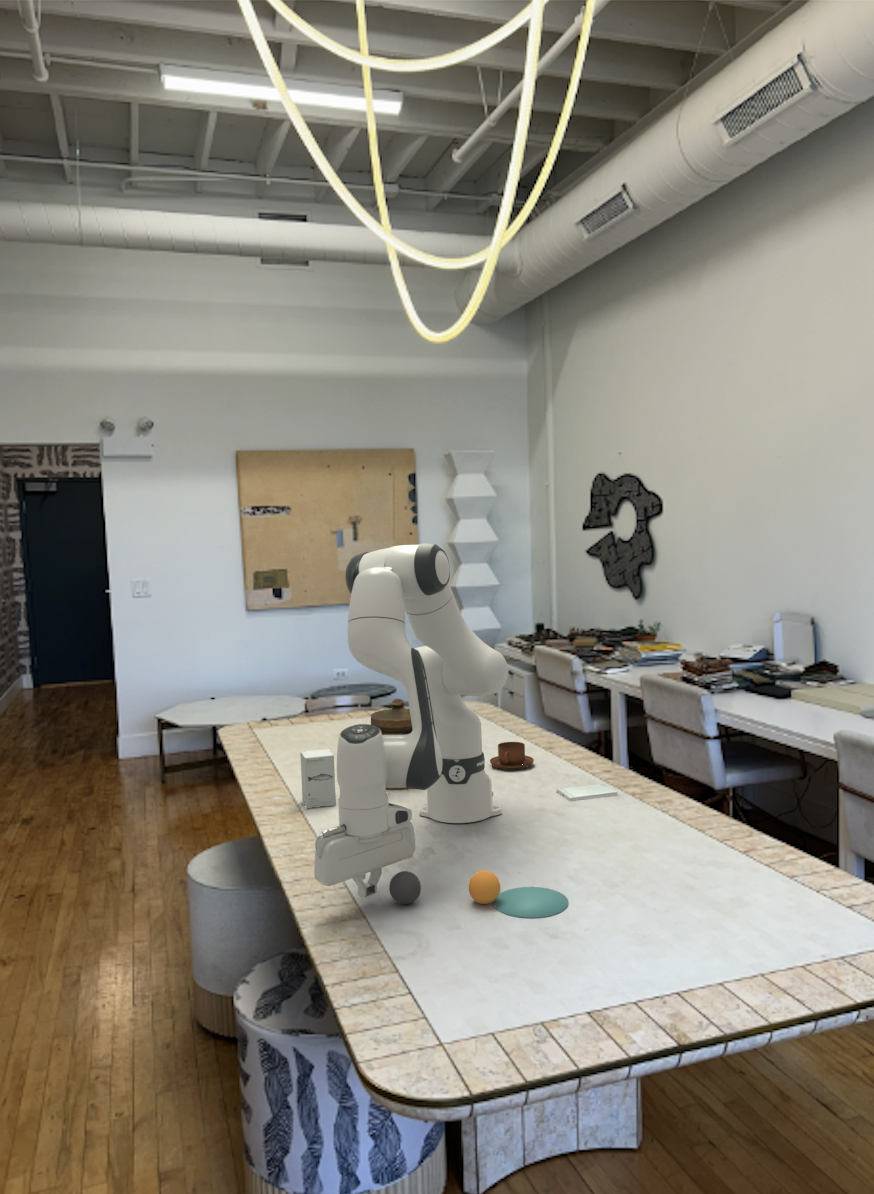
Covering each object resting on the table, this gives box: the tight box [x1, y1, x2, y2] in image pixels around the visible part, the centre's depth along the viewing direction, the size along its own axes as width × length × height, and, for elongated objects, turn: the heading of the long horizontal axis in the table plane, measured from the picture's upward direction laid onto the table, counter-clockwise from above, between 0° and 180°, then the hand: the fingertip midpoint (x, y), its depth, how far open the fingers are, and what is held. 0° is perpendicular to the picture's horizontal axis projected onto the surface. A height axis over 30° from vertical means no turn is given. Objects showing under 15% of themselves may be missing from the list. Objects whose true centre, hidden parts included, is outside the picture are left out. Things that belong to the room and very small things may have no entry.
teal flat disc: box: [493, 886, 569, 919], centre depth 161 cm, size 13×13×1 cm
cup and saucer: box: [489, 741, 535, 771], centre depth 253 cm, size 12×12×6 cm
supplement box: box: [299, 748, 337, 809], centre depth 224 cm, size 7×7×13 cm
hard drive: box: [556, 783, 618, 802], centre depth 225 cm, size 2×8×12 cm
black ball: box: [388, 870, 422, 905], centre depth 163 cm, size 6×6×6 cm
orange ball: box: [467, 870, 501, 905], centre depth 162 cm, size 6×6×6 cm
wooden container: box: [370, 698, 413, 791], centre depth 240 cm, size 15×15×22 cm
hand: (367, 894), depth 164 cm, fingers closed
